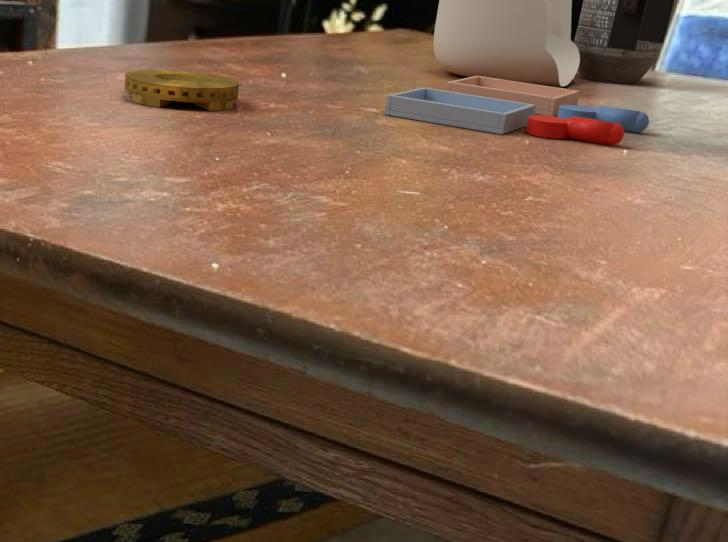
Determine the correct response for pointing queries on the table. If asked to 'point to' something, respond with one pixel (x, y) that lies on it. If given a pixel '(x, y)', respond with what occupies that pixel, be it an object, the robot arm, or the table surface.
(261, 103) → the table surface
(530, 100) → the rose tray
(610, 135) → the red spoon
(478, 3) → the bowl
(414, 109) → the blue tray
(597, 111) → the blue spoon
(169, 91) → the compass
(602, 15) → the planter
